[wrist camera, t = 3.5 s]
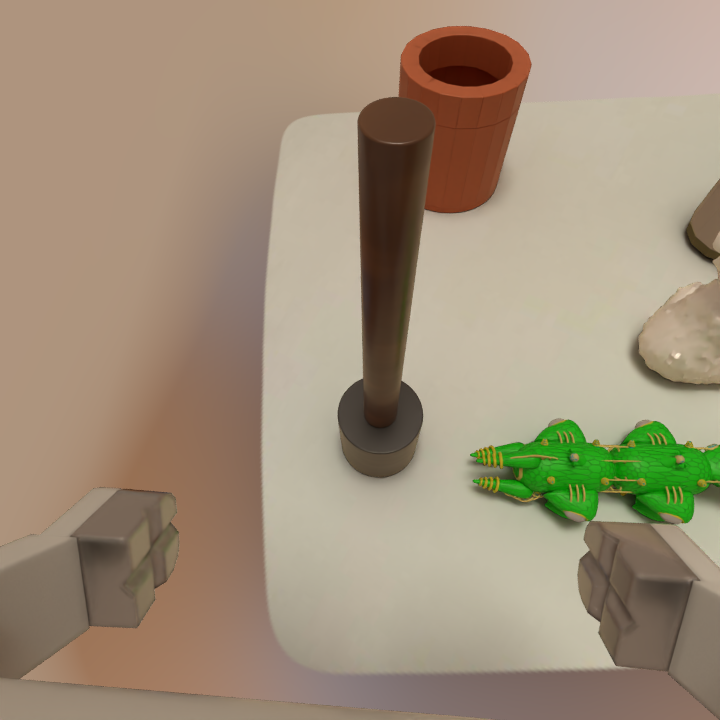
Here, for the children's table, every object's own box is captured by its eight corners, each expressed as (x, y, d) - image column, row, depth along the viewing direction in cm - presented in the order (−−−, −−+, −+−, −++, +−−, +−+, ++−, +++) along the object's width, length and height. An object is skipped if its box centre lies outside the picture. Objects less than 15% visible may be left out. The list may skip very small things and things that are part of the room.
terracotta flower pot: (381, 199, 45) (385, 83, 35) (410, 136, 49) (420, 18, 40) (485, 223, 43) (519, 107, 33) (505, 154, 48) (539, 36, 38)
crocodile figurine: (759, 531, 29) (816, 518, 26) (471, 525, 30) (486, 511, 26) (722, 432, 33) (767, 407, 29) (462, 428, 33) (474, 403, 29)
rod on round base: (331, 463, 32) (261, 163, 11) (355, 398, 34) (336, 49, 14) (404, 488, 31) (476, 210, 10) (424, 418, 34) (515, 80, 13)
